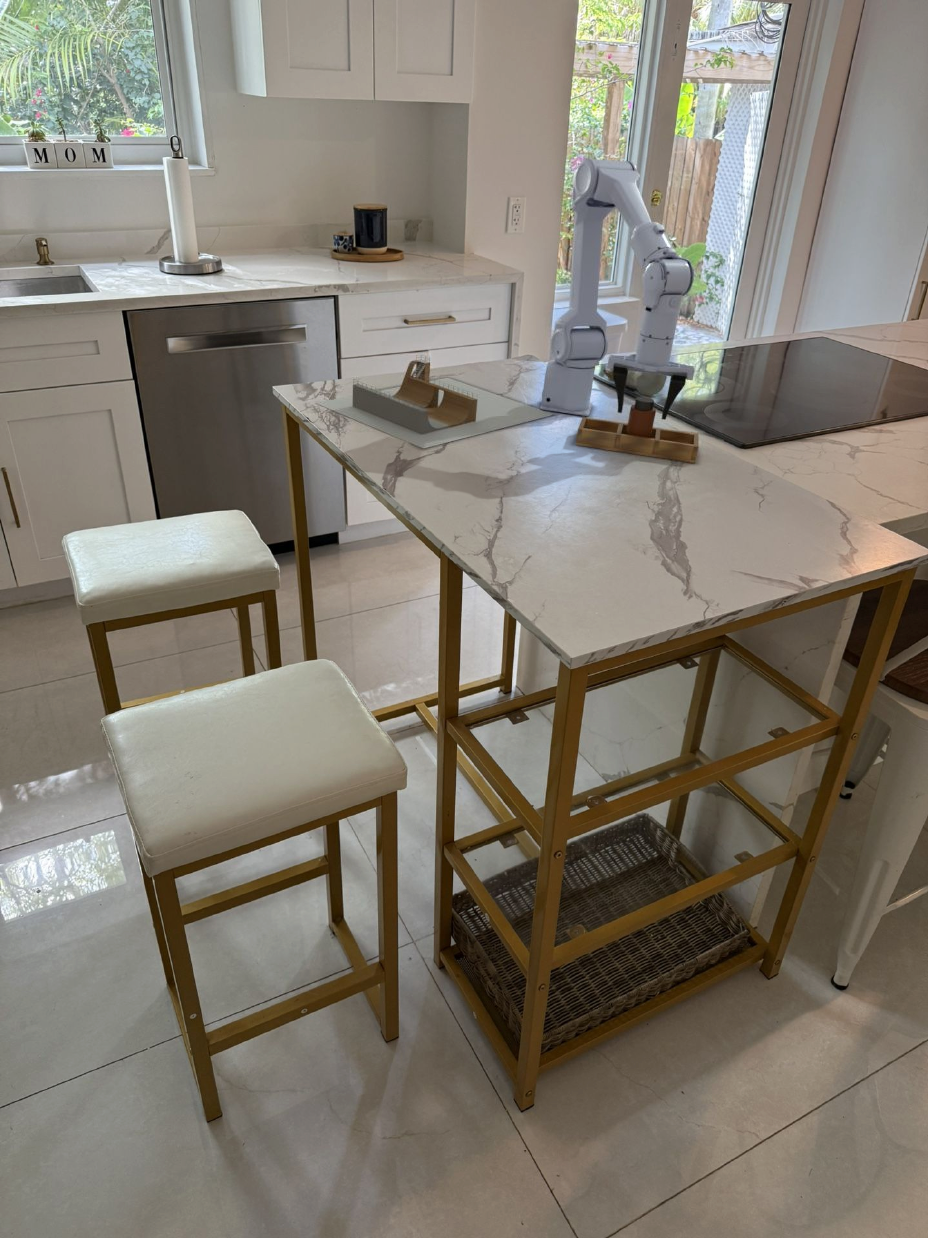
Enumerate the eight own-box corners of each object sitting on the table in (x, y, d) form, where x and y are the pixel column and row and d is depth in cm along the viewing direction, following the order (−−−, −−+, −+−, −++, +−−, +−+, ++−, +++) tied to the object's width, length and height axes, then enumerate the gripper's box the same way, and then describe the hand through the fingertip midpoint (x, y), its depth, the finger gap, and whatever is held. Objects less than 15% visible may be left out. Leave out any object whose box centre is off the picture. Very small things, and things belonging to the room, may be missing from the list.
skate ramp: (315, 402, 164) (315, 362, 161) (447, 377, 187) (450, 341, 183) (423, 448, 148) (426, 404, 144) (554, 414, 170) (559, 375, 167)
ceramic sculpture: (640, 356, 180) (604, 343, 192) (634, 399, 184) (598, 383, 196) (684, 356, 183) (645, 343, 196) (677, 398, 187) (639, 382, 200)
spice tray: (575, 444, 156) (577, 428, 154) (580, 432, 162) (582, 416, 161) (695, 463, 153) (698, 446, 151) (694, 449, 159) (698, 433, 157)
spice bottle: (623, 445, 155) (631, 400, 151) (625, 438, 159) (633, 394, 155) (648, 449, 155) (657, 404, 151) (649, 441, 158) (658, 397, 154)
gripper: (611, 334, 145) (598, 414, 152) (700, 346, 143) (683, 427, 150) (615, 325, 151) (602, 403, 158) (700, 337, 149) (683, 415, 156)
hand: (641, 414), depth 154 cm, fingers open, 7 cm apart
